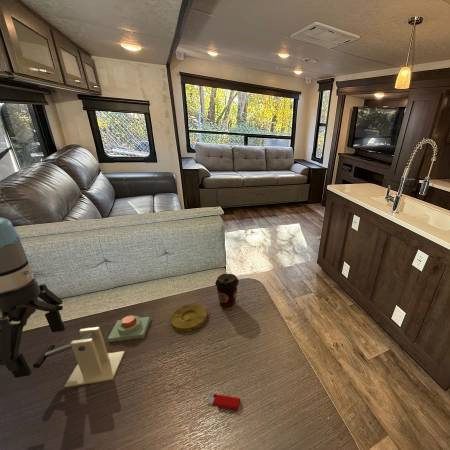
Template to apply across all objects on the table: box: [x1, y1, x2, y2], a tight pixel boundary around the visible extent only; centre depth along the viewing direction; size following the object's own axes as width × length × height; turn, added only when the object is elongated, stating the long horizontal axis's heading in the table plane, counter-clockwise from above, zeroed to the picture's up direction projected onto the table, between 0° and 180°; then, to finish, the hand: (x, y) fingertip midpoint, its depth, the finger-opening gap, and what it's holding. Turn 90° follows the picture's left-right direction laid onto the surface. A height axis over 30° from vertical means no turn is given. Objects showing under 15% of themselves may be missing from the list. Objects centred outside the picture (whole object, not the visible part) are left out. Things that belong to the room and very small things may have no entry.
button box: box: [107, 315, 151, 343], centre depth 83 cm, size 10×8×4 cm
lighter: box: [207, 393, 241, 411], centre depth 66 cm, size 3×1×8 cm
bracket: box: [64, 326, 126, 388], centre depth 68 cm, size 11×9×14 cm
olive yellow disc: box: [170, 303, 208, 333], centre depth 90 cm, size 12×12×2 cm
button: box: [121, 314, 135, 328], centre depth 82 cm, size 4×4×2 cm
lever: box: [32, 332, 97, 369], centre depth 66 cm, size 13×6×2 cm, turn 104°
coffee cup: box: [214, 273, 240, 310], centre depth 98 cm, size 9×8×13 cm
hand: (42, 350), depth 64 cm, fingers open, 13 cm apart
